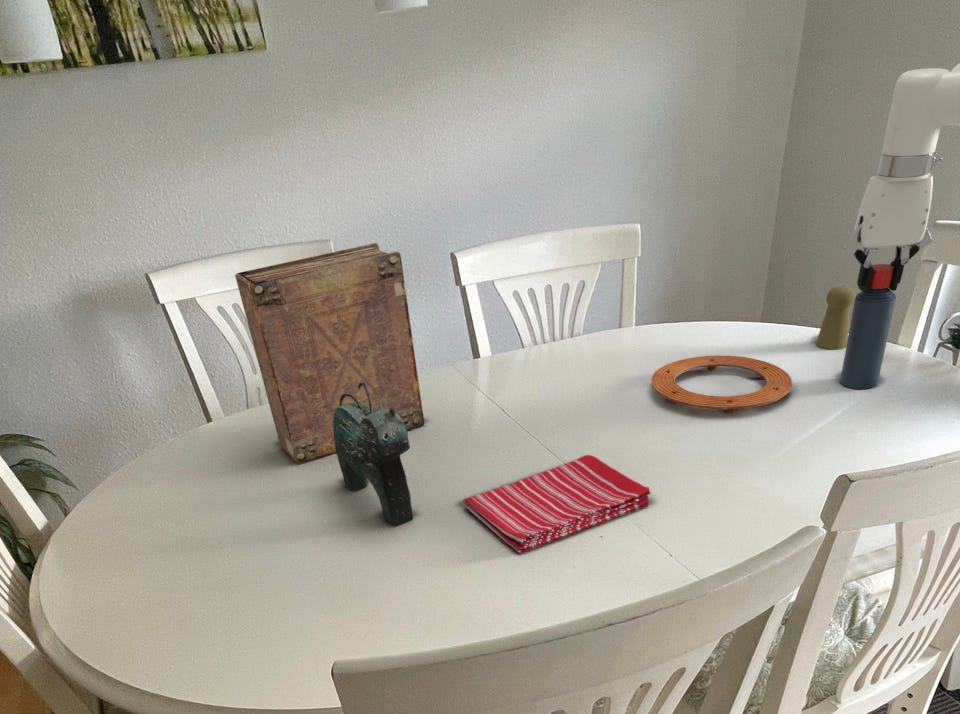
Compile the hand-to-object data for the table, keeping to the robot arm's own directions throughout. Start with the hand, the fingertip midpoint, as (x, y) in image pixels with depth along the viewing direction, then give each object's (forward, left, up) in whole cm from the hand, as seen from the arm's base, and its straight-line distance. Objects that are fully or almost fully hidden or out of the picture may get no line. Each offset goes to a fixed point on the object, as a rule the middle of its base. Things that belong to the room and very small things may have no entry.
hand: (877, 288), depth 134 cm
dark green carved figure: (+36, +85, -17) cm, 94 cm away
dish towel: (+13, +68, -17) cm, 71 cm away
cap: (0, 0, 0) cm, 0 cm away
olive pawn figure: (+13, -16, -17) cm, 27 cm away
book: (+60, +72, -17) cm, 95 cm away
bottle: (0, 0, -16) cm, 16 cm away
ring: (+18, +17, -17) cm, 30 cm away
